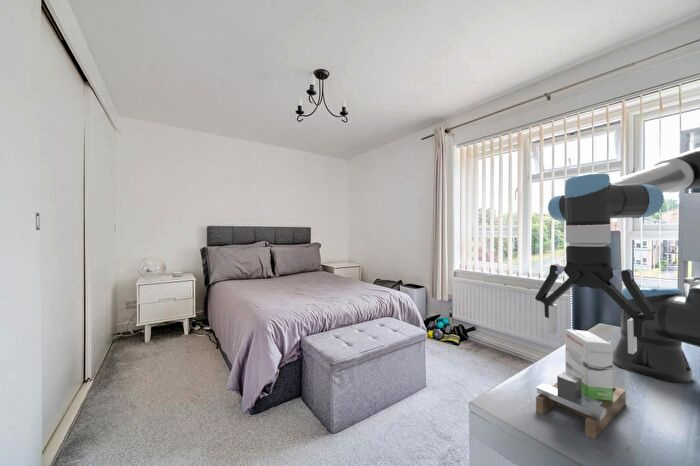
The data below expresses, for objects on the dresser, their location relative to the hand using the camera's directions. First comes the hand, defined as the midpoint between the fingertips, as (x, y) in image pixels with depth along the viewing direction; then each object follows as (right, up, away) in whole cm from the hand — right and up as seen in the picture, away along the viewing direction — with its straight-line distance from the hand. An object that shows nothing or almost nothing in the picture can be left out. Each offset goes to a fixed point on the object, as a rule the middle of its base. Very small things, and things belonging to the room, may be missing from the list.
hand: (589, 341), depth 61 cm
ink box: (0, -11, 0) cm, 11 cm away
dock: (-3, -13, -2) cm, 14 cm away
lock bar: (-9, -10, -5) cm, 14 cm away
